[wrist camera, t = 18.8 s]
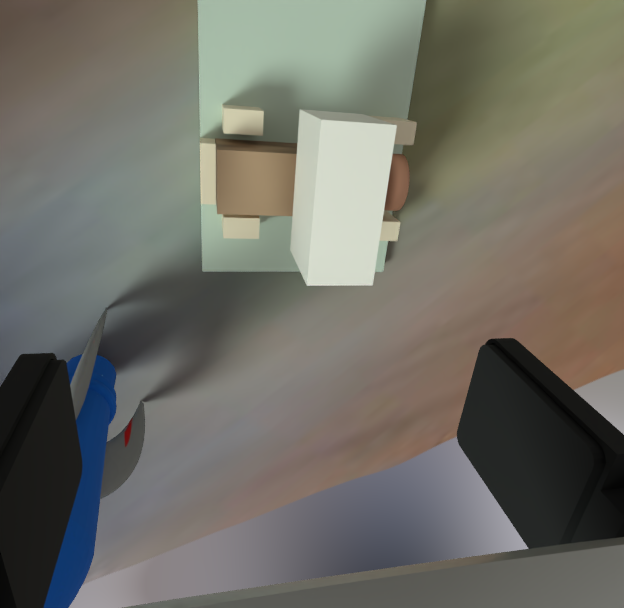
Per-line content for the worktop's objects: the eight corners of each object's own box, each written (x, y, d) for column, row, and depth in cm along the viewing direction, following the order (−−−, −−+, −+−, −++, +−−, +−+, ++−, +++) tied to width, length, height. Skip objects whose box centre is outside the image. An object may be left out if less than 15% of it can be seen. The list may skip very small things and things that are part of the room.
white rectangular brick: (290, 250, 33) (306, 285, 28) (299, 109, 29) (321, 119, 24) (346, 250, 34) (372, 285, 29) (362, 113, 30) (396, 125, 25)
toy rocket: (106, 298, 38) (-20, 611, 16) (194, 367, 43) (187, 687, 21) (15, 380, 40) (-211, 768, 18) (109, 439, 44) (19, 807, 22)
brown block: (215, 195, 35) (217, 214, 31) (215, 138, 34) (217, 149, 29) (382, 201, 38) (406, 219, 34) (390, 148, 36) (416, 160, 32)
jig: (202, 265, 39) (202, 287, 35) (196, -114, 28) (195, -141, 25) (378, 266, 42) (395, 286, 38) (430, -74, 32) (461, -92, 28)
